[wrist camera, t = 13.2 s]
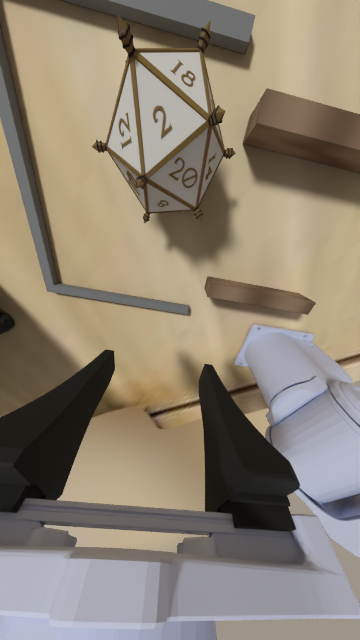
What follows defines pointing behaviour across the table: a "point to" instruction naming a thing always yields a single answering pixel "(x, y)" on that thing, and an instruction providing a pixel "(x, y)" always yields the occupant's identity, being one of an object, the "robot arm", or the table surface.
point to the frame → (129, 3)
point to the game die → (166, 126)
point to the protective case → (5, 323)
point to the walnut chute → (303, 142)
